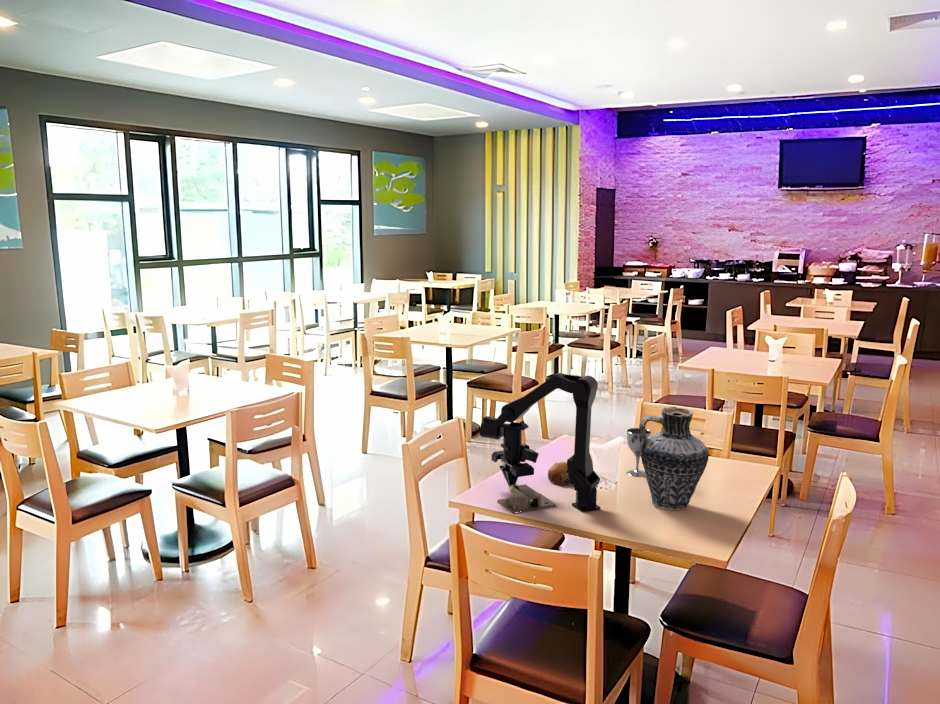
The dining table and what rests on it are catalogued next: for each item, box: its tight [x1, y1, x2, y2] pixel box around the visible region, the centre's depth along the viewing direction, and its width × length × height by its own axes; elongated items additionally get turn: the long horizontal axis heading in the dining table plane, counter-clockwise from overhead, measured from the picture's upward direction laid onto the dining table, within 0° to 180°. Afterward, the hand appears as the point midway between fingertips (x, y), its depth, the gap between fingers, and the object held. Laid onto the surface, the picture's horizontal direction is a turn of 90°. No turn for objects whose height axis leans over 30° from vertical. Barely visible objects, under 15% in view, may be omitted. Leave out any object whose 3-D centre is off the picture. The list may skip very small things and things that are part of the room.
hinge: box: [496, 484, 557, 514], centre depth 230 cm, size 10×15×4 cm
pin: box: [508, 483, 535, 504], centre depth 232 cm, size 12×3×3 cm, turn 24°
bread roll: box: [547, 461, 573, 486], centre depth 252 cm, size 10×10×8 cm
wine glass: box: [626, 427, 652, 478], centre depth 258 cm, size 8×8×15 cm
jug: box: [639, 406, 710, 511], centre depth 227 cm, size 21×19×30 cm
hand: (511, 489), depth 239 cm, fingers closed
